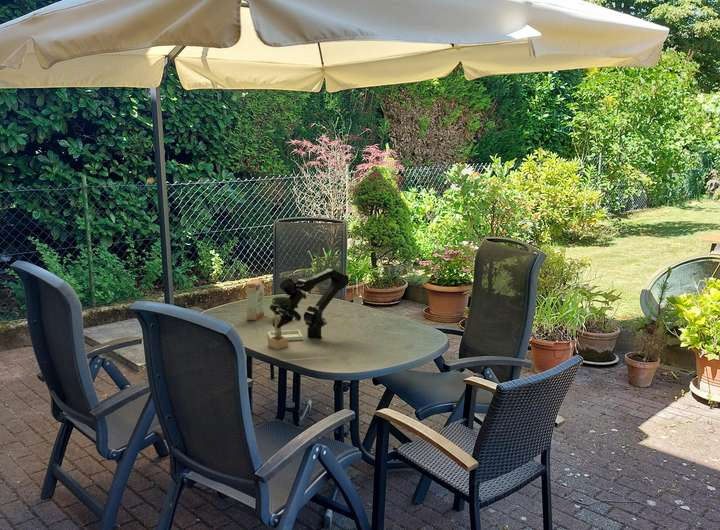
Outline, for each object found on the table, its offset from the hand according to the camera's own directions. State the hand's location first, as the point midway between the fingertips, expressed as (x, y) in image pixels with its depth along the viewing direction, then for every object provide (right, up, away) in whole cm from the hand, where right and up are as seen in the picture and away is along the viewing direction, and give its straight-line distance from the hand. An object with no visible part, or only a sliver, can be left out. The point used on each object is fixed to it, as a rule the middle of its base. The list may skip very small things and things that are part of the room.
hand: (275, 327), depth 294 cm
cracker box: (-19, 0, +56) cm, 59 cm away
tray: (+3, -7, +16) cm, 18 cm away
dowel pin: (+1, -6, +2) cm, 7 cm away
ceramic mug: (+17, -3, +45) cm, 48 cm away
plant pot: (-4, -1, +54) cm, 55 cm away
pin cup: (+1, -10, +3) cm, 10 cm away
